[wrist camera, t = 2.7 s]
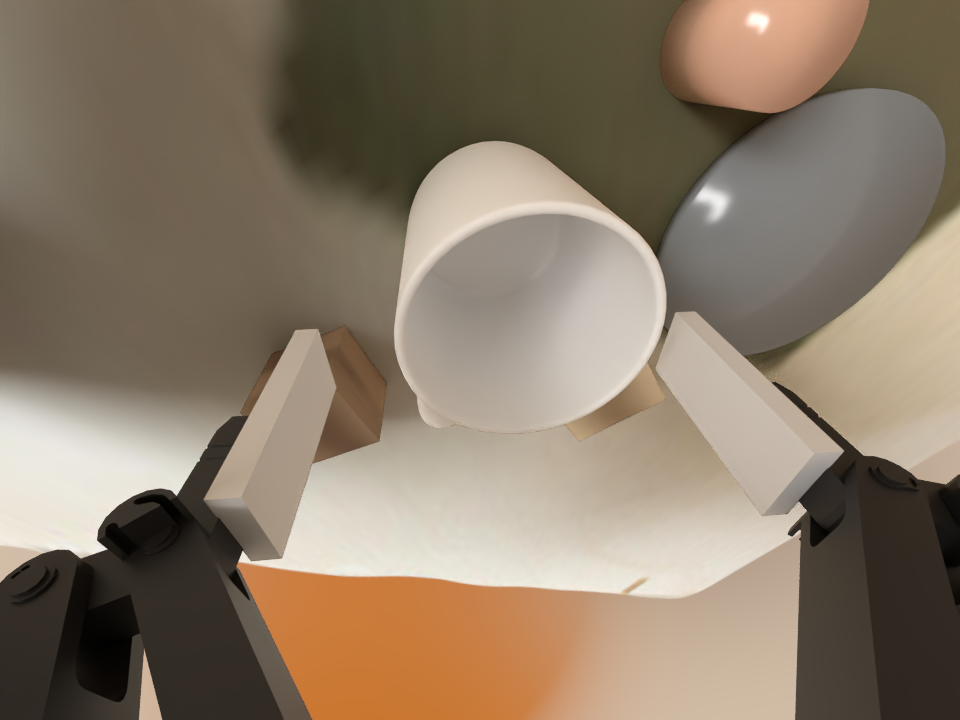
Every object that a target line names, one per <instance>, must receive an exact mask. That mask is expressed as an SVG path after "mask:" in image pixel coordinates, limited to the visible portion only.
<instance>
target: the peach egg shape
mask: <svg viewBox="0 0 960 720" xmlns="http://www.w3.org/2000/svg"><path fill="white" fill-rule="evenodd" d="M868 6H869V0H684V1H683V2H682V3H681V5H680V6H679V8H678V9H677V10H676V12H675V14H674V15H673V17H672V19H671V21H670V23H669V25H668V27H667V30H666V33H665V35H664V39H663V43H662V48H661V55H660V69H661V75H662V79H663V82H664V84H665V86H666V88H667V89H668V91H669V92H670V93H671V94H672V95H673V96H675V97H676V98H678V99H680V100H683V101H687V102H694V103H701V104H708V105H714V106H721V107H728V108H735V109H742V110H749V111H756V112H763V113H776V112H781V111H785V110H787V109H790V108H793V107H795V106H797V105H799V104H800V103H802V102H804V101H805V100H807V99H808V98H810V97H811V96H812V95H814V94H815V93H816V92H817V91H818V90H820V89H821V88H822V87H823V86H824V85H825V84H826V83H827V82H828V81H829V80H830V79H831V78H832V76H833V75H834V74H835V73H836V72H837V70H838V69H839V68H840V67H841V65H842V64H843V62H844V61H845V59H846V58H847V56H848V55H849V53H850V51H851V50H852V48H853V46H854V44H855V42H856V40H857V38H858V36H859V34H860V31H861V29H862V27H863V24H864V21H865V18H866V14H867V10H868Z"/></svg>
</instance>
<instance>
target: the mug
mask: <svg viewBox="0 0 960 720" xmlns="http://www.w3.org/2000/svg"><path fill="white" fill-rule="evenodd" d="M665 314H666V288H665V282H664V276H663V273H662V270H661V267H660V265H659V262H658V260H657V258H656V256H655V255H654V253H653V251H652V249H651V248H650V246H649V245H648V244H647V243H646V241H645V240H644V239H643V238H642V237H641V235H640V234H639V233H637V232H636V231H635V230H634V229H633V228H631V227H630V226H629V225H628V224H627V223H625V222H624V221H623V220H622V219H621V218H619V217H618V216H617V215H616V214H614V213H613V212H612V211H611V210H609V209H608V208H607V207H606V206H604V205H603V204H602V203H601V202H599V201H598V200H597V199H596V198H594V197H593V196H592V195H591V194H590V193H588V192H587V191H586V190H585V189H583V188H582V187H581V186H580V185H578V184H577V183H576V182H575V181H573V180H572V179H571V178H570V177H568V176H567V175H566V174H565V173H564V172H562V171H561V170H560V169H559V168H557V167H556V166H555V165H554V164H552V163H551V162H550V161H549V160H547V159H546V158H545V157H543V156H542V155H540V154H538V153H537V152H535V151H533V150H531V149H529V148H526V147H524V146H521V145H519V144H514V143H510V142H503V141H488V142H480V143H476V144H472V145H469V146H466V147H464V148H461V149H459V150H457V151H455V152H453V153H452V154H450V155H448V156H447V157H446V158H444V159H443V160H442V161H440V162H439V163H438V164H437V165H436V166H435V167H434V168H433V169H432V170H431V171H430V172H429V174H428V175H427V176H426V178H425V179H424V180H423V182H422V184H421V185H420V187H419V189H418V191H417V193H416V196H415V198H414V201H413V203H412V206H411V210H410V215H409V219H408V226H407V234H406V241H405V249H404V256H403V264H402V271H401V279H400V286H399V294H398V301H397V309H396V316H395V327H394V343H395V351H396V355H397V360H398V363H399V366H400V368H401V371H402V373H403V375H404V377H405V379H406V381H407V382H408V384H409V386H410V387H411V389H412V390H413V391H414V393H415V394H416V395H417V404H418V408H419V412H420V415H421V417H422V419H423V420H424V421H425V422H426V423H427V424H428V425H430V426H432V427H434V428H446V427H449V426H451V425H454V424H459V425H461V426H464V427H467V428H470V429H474V430H478V431H483V432H490V433H500V434H522V433H530V432H537V431H542V430H547V429H551V428H555V427H558V426H562V425H565V424H567V423H570V422H572V421H575V420H578V419H580V418H582V417H584V416H586V415H588V414H590V413H592V412H593V411H595V410H597V409H598V408H600V407H602V406H603V405H605V404H606V403H607V402H609V401H610V400H612V399H613V398H614V397H616V396H617V395H618V394H619V393H620V392H621V391H623V390H624V389H625V388H626V387H627V386H628V385H629V384H630V383H631V382H632V381H633V380H634V379H635V377H636V376H637V375H638V374H639V373H640V371H641V370H642V369H643V367H644V366H645V365H646V363H647V362H648V360H649V358H650V357H651V355H652V353H653V352H654V350H655V347H656V345H657V343H658V341H659V338H660V336H661V332H662V329H663V325H664V321H665Z"/></svg>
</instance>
